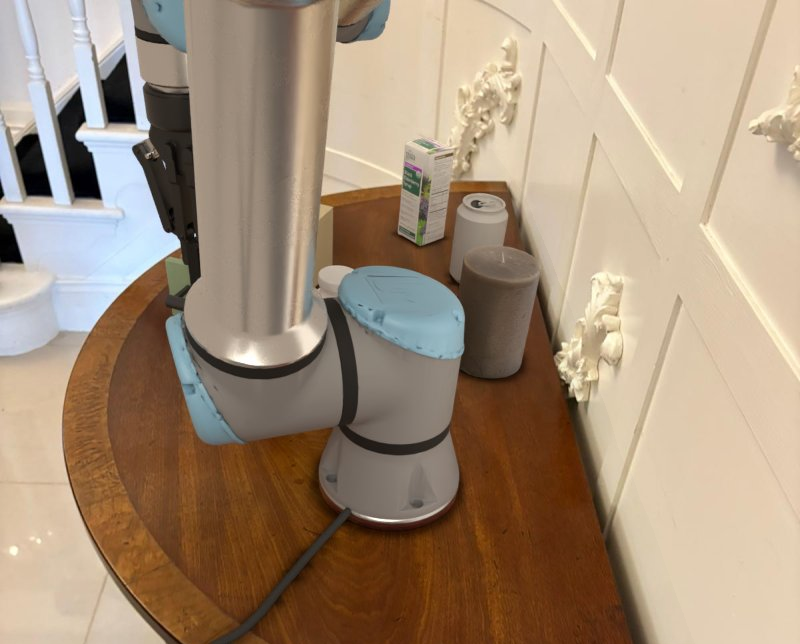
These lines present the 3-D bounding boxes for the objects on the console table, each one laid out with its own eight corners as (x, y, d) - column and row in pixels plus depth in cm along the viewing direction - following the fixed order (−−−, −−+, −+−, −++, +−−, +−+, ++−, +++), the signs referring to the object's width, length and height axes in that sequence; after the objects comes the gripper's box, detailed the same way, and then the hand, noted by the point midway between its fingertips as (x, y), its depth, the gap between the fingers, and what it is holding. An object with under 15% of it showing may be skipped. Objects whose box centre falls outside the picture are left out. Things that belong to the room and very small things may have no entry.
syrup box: (396, 234, 130) (402, 141, 120) (421, 225, 133) (430, 134, 123) (419, 247, 127) (428, 153, 117) (445, 238, 131) (456, 146, 120)
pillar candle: (460, 381, 101) (477, 272, 91) (442, 340, 108) (455, 234, 97) (531, 377, 103) (556, 269, 92) (509, 337, 110) (529, 233, 99)
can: (451, 264, 124) (460, 187, 116) (498, 270, 124) (511, 193, 115) (446, 286, 119) (456, 207, 110) (495, 293, 118) (509, 214, 110)
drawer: (237, 356, 100) (232, 300, 94) (151, 332, 102) (142, 276, 97) (299, 292, 112) (298, 239, 107) (222, 272, 115) (217, 220, 109)
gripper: (251, 84, 84) (263, 289, 100) (144, 63, 86) (173, 267, 103) (216, 102, 78) (234, 316, 95) (103, 80, 81) (140, 291, 98)
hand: (202, 290), depth 99 cm, fingers closed
